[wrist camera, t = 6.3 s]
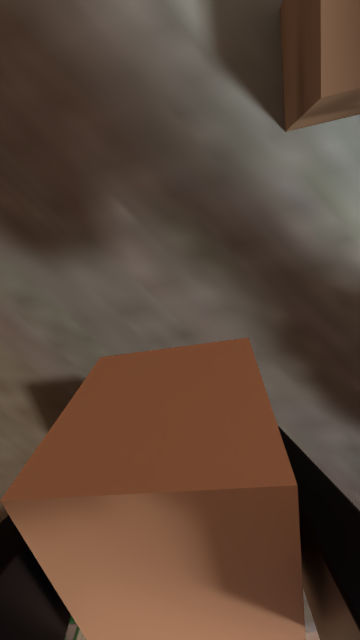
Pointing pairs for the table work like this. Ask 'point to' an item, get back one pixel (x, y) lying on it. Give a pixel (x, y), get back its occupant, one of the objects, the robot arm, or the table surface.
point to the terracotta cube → (168, 501)
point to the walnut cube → (320, 60)
